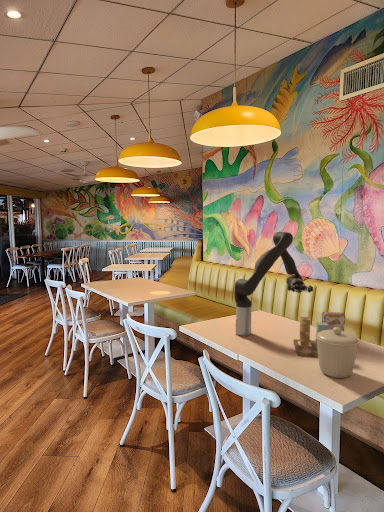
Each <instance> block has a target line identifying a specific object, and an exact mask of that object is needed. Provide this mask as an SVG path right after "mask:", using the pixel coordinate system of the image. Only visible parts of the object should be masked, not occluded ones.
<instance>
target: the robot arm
mask: <svg viewBox="0 0 384 512" xmlns="http://www.w3.org/2000/svg"><path fill="white" fill-rule="evenodd" d="M293 240H294V237H293V234H292V233H291V232H286V231H276V232H275V233H274V234H273V236H272V241H273V244H274V246H273V247H272V248H270V249H268V250H267V251H265V252H264V253H262V254H261V255H260V257H259V258H258V259H257V260H256V261H255V265H254V269H253V270H254V271H253V273H252V275H251V276H250V277H249V278H248V279H244V278H238V279H237V280H236V281H235V283H234V289H233V290H234V301H235V335H237V336H243V337H246V336H251V335H252V307H253V306H252V301H251V300H250V299H249V298H248V297H249V296H251V295H252V294H254V292H255V291H256V289H257V287H258V286H259V284H260V282H261V281H263V278H264V277H265V275H266V274H267V273H268V272H269V271H270V269H272V267H273V266H274V265H275V263H276V261H277V260H278V259H279V258H280V257H281V260H282V263H283V266H284V269H285V272H286V274H287V275H290V276H288V277H287V278H286V280H285V281H286V284H287V291H288V292H290V291H291V292H293V293H300V294H301V293H302V292H306V293H307V292H308V293H311V292H314V287H313V286H312V285H306V283H304V279H303V277H302V275H301V274H300V272H299V270H298V269H297V265H296V262H295V260H294V258H293V257H292V255H291V254H290V253H289V252H288V250H287V249H288V248H289V247H290V246H291V245H292V243H293Z"/></svg>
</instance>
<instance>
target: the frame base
mask: <svg viewBox="0 0 384 512" xmlns="http://www.w3.org/2000/svg"><path fill="white" fill-rule="evenodd" d="M315 329H316V330H315V334H316V333H318V332H320V331H323V330H328V325H327V323H323V322H322V321H321V322H318V321H316V328H315ZM292 341H293V345H294V348H295V351H296V354H297V357H300V356H301V357H311V358H312V357H314V358H318V348H317V338H316V337H315V339H313V340H312V339H310V345H301V344H300V339H296V338H295V339H293V340H292Z"/></svg>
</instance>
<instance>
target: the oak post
mask: <svg viewBox="0 0 384 512" xmlns="http://www.w3.org/2000/svg"><path fill="white" fill-rule="evenodd" d="M299 319H300V320H299V340H300V344H301V345H310V340H311V318H310V317H309V316H300V317H299Z"/></svg>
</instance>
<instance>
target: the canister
mask: <svg viewBox="0 0 384 512" xmlns="http://www.w3.org/2000/svg"><path fill="white" fill-rule="evenodd" d="M314 337H315V339H316V338H317V348H318V357H317V358H318V365H319V369H320V371H321V372H322V373H323V374H324V375H327V376H328V377H332V378H336V379H345V378H348V377H350V376H351V375H352V373H353V371H354V367H355V362H356V355H357V351H358V345H359V344H360V342H361V340H360V339H359V337H357V336H355V335H354V334H353V333H350V332H347V331H345V330H344V331H342V330H341V328H339V327H335V328H333V330H323V331H320V332H318V333H316V332H315V335H314Z"/></svg>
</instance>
